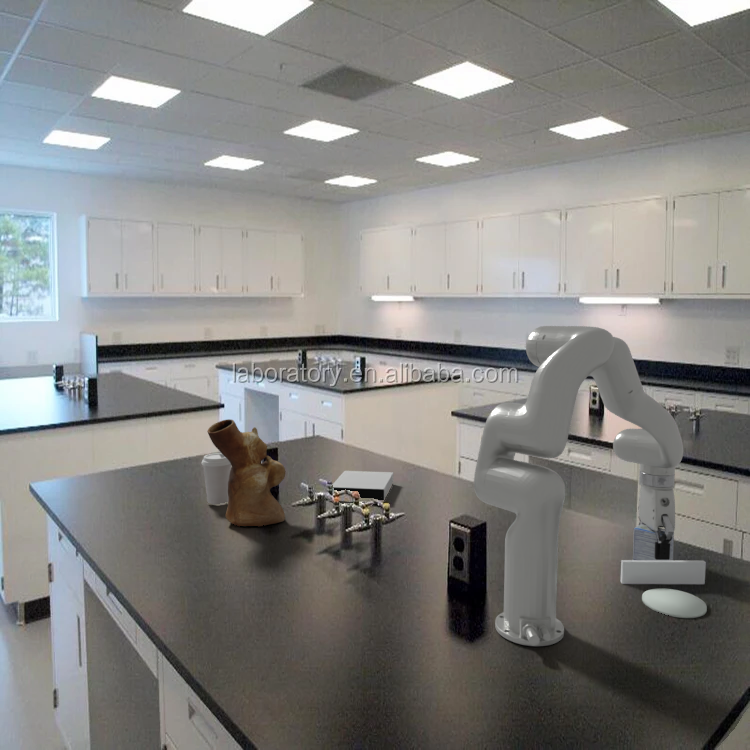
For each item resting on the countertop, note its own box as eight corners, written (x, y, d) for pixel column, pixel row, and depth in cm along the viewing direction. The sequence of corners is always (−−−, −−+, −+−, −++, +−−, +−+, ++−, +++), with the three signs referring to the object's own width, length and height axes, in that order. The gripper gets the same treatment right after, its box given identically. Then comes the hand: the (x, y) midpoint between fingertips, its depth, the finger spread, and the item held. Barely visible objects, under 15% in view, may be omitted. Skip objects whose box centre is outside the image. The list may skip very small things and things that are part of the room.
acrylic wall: (704, 584, 140) (705, 562, 139) (622, 583, 140) (622, 561, 139) (702, 582, 141) (703, 560, 140) (620, 581, 141) (621, 560, 140)
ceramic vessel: (294, 523, 180) (293, 418, 177) (220, 538, 168) (217, 426, 165) (271, 508, 193) (269, 410, 190) (200, 522, 181) (197, 418, 178)
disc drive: (328, 502, 200) (328, 487, 200) (344, 483, 222) (344, 469, 222) (383, 505, 197) (383, 490, 197) (393, 485, 219) (394, 471, 219)
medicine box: (673, 566, 149) (674, 530, 148) (666, 572, 146) (668, 535, 145) (638, 557, 154) (640, 523, 154) (632, 563, 151) (633, 527, 150)
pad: (718, 618, 124) (718, 615, 124) (656, 617, 124) (656, 615, 124) (689, 591, 136) (689, 588, 136) (632, 590, 136) (633, 588, 136)
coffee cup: (229, 508, 194) (228, 459, 192) (198, 507, 194) (197, 459, 192) (237, 498, 203) (236, 452, 202) (207, 498, 203) (205, 452, 202)
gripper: (690, 490, 139) (687, 566, 141) (656, 470, 157) (654, 538, 158) (656, 490, 139) (652, 566, 141) (626, 470, 157) (623, 538, 159)
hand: (653, 551), depth 150 cm, fingers closed on medicine box, 8 cm apart
